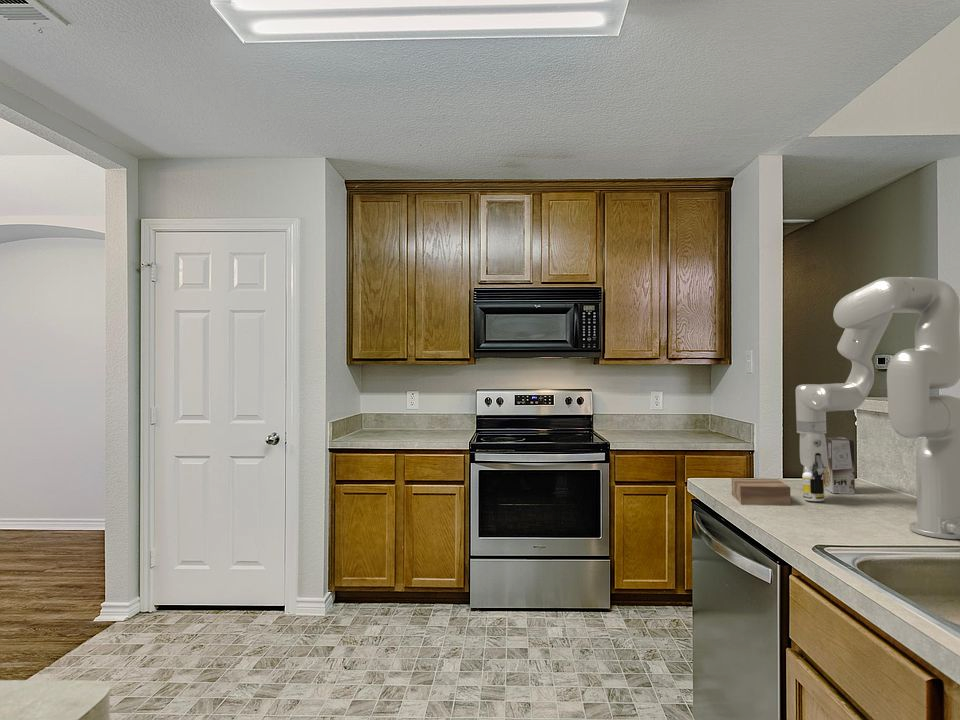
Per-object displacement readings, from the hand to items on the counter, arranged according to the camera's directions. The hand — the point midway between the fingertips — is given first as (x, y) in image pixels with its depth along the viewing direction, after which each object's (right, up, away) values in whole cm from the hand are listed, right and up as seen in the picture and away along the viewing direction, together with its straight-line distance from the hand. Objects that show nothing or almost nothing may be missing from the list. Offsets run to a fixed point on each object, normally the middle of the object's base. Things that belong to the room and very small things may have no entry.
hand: (813, 490), depth 186 cm
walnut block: (-14, -3, +3) cm, 15 cm away
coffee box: (+14, -3, +13) cm, 20 cm away
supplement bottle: (0, -3, 0) cm, 3 cm away
